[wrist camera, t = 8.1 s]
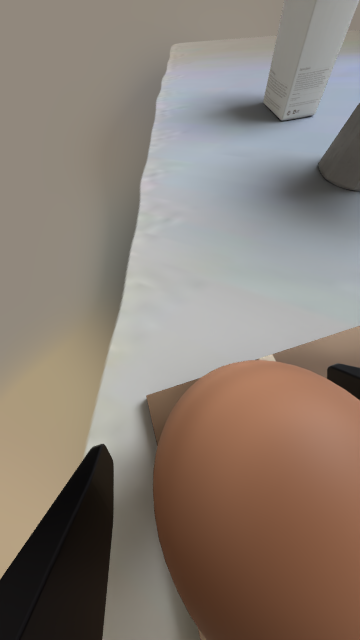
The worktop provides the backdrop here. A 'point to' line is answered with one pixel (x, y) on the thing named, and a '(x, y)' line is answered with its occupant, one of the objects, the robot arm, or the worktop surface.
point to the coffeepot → (344, 156)
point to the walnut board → (315, 356)
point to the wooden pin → (263, 503)
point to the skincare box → (305, 54)
